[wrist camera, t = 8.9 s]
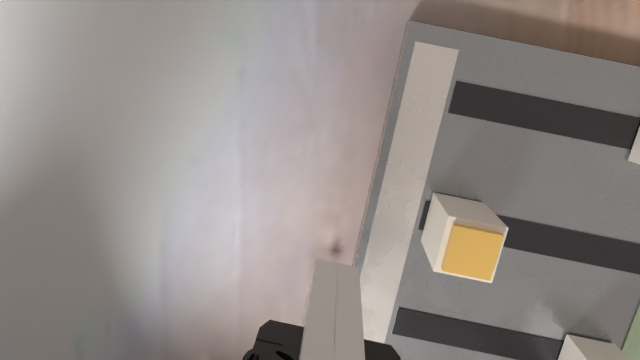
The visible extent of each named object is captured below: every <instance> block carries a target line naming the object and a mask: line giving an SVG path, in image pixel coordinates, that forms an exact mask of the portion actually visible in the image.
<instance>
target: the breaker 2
mask: <svg viewBox="0 0 640 360" xmlns="http://www.w3.org/2000/svg"><path fill="white" fill-rule="evenodd" d="M628 161H631V162H634V163H637V164H639V165H640V127H639V130H638V133H637V135H636V138H635V141H634V144H633V147H632V150H631V153H630V155H629V158H628Z"/></svg>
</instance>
